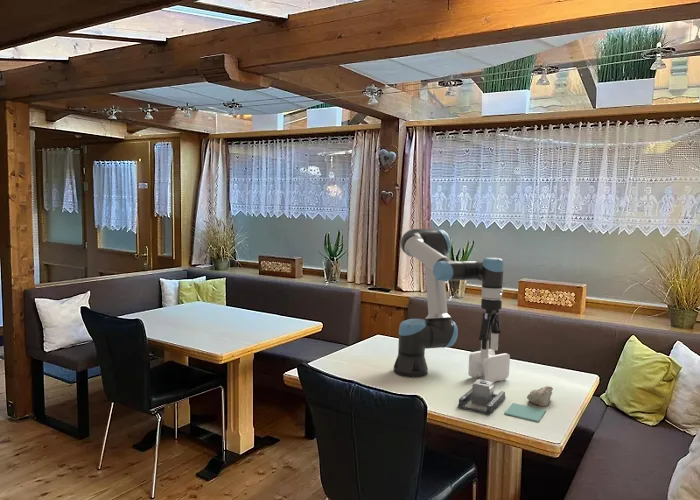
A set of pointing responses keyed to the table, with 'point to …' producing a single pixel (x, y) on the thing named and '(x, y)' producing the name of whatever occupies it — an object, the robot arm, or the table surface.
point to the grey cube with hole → (482, 392)
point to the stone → (540, 396)
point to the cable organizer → (489, 366)
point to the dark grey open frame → (490, 407)
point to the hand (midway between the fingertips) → (489, 353)
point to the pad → (525, 412)
